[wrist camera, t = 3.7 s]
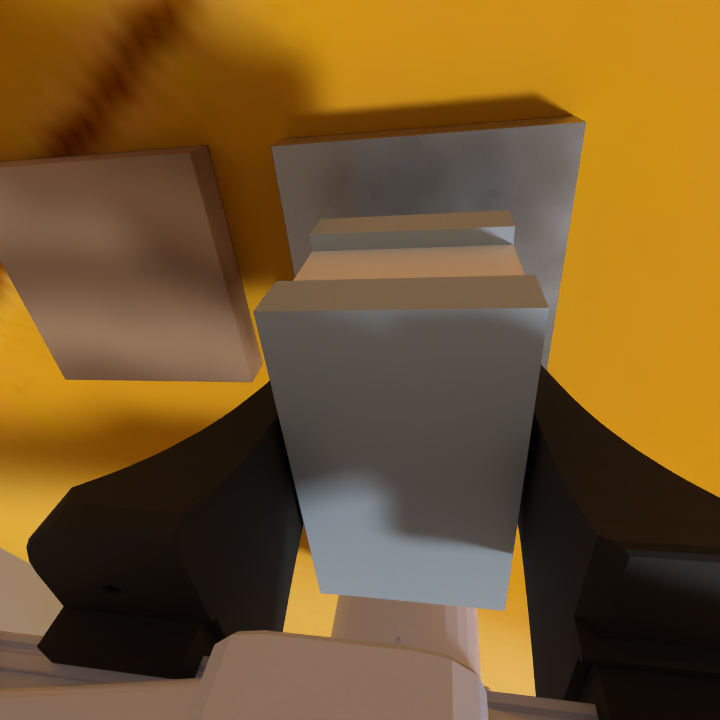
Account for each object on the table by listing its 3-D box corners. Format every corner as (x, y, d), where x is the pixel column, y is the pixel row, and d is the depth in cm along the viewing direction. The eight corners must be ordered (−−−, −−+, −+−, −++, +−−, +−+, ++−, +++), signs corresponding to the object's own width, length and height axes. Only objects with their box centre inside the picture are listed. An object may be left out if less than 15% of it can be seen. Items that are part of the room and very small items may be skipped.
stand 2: (538, 366, 21) (543, 386, 20) (321, 364, 22) (314, 382, 21) (574, 115, 15) (586, 121, 14) (283, 138, 17) (270, 146, 16)
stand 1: (262, 364, 23) (252, 382, 22) (84, 362, 25) (65, 379, 23) (207, 145, 17) (189, 152, 16) (-18, 163, 19) (-49, 171, 18)
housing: (487, 458, 15) (505, 610, 11) (352, 452, 16) (320, 593, 12) (508, 210, 11) (548, 307, 7) (321, 218, 12) (253, 311, 7)
